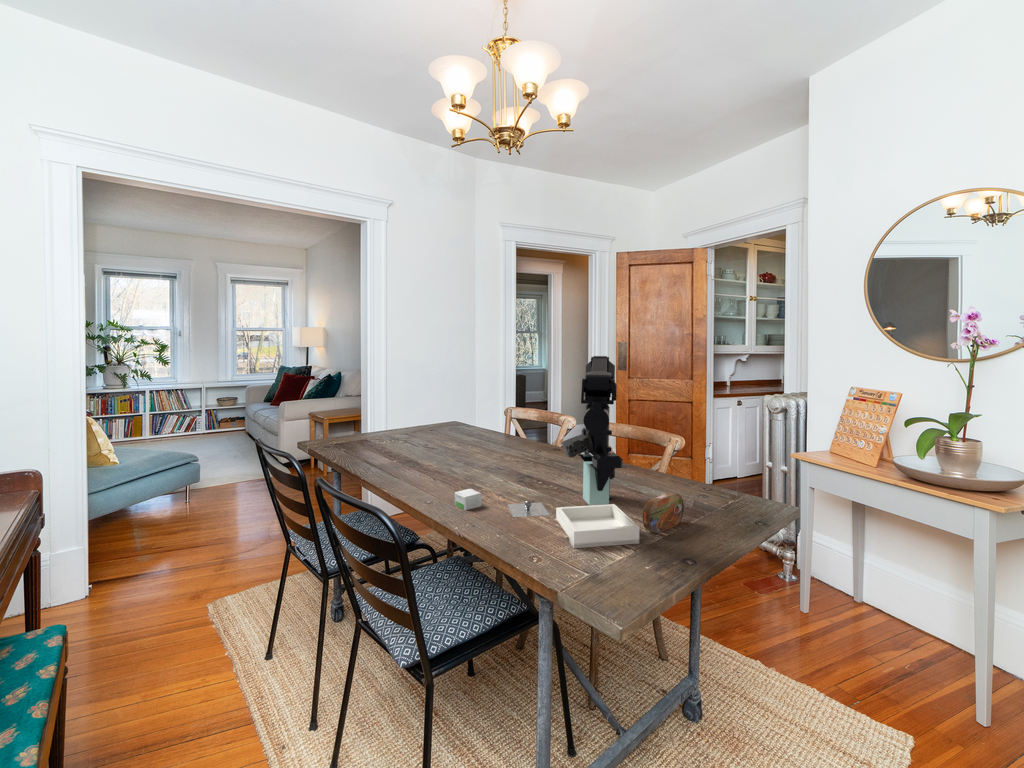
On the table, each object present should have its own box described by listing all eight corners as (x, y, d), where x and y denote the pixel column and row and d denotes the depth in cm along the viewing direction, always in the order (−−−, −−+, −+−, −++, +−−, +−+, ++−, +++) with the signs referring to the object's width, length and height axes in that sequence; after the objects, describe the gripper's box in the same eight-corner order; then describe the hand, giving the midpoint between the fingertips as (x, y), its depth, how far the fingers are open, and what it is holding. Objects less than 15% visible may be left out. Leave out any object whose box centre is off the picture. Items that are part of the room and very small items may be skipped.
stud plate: (541, 505, 141) (541, 493, 141) (549, 518, 132) (549, 505, 131) (507, 507, 140) (507, 495, 139) (513, 520, 130) (513, 507, 130)
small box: (454, 508, 139) (454, 491, 139) (471, 504, 143) (471, 487, 142) (464, 514, 135) (464, 497, 134) (482, 509, 138) (482, 492, 138)
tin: (650, 537, 119) (651, 503, 119) (639, 533, 122) (640, 500, 121) (684, 522, 129) (685, 491, 128) (674, 519, 131) (674, 488, 130)
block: (582, 498, 124) (583, 461, 123) (601, 497, 125) (602, 460, 124) (589, 505, 119) (590, 466, 118) (608, 503, 120) (609, 465, 119)
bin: (613, 518, 132) (614, 504, 131) (639, 543, 116) (639, 527, 115) (556, 522, 129) (556, 507, 128) (573, 548, 113) (574, 531, 113)
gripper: (555, 419, 128) (554, 478, 129) (577, 434, 109) (576, 501, 111) (596, 418, 129) (595, 476, 131) (624, 432, 111) (622, 499, 113)
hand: (596, 487), depth 121 cm, fingers closed on block, 5 cm apart
